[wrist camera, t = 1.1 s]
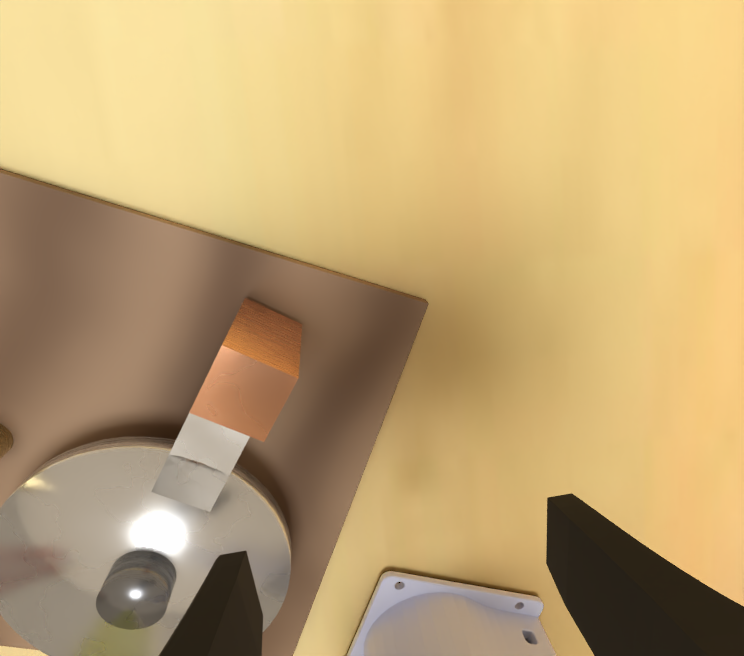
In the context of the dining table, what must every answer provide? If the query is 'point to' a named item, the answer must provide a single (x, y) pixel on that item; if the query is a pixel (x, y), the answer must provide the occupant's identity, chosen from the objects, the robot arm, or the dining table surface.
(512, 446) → the dining table surface
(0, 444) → the dowel
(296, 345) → the metal lid
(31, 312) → the board
